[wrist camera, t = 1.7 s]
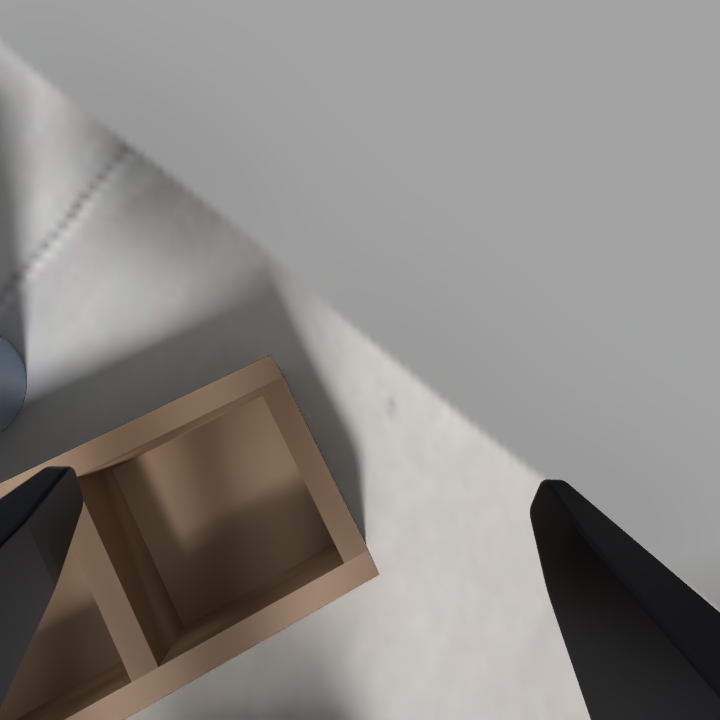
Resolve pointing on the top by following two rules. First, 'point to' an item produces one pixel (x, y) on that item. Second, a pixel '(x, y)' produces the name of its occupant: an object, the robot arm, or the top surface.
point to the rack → (187, 549)
